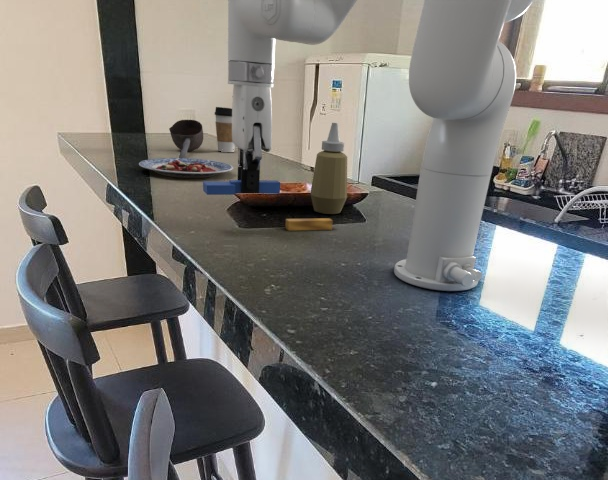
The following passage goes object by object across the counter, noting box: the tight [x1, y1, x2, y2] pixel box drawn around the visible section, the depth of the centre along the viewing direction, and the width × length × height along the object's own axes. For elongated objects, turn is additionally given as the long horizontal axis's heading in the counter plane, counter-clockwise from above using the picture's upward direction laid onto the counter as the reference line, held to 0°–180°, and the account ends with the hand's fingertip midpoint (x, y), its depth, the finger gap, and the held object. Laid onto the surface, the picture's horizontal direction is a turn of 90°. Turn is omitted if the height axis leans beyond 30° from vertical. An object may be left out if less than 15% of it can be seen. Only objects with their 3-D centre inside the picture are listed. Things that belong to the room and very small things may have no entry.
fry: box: [284, 217, 334, 232], centre depth 102 cm, size 9×2×2 cm, turn 110°
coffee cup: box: [214, 106, 236, 153], centre depth 194 cm, size 8×8×15 cm
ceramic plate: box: [138, 157, 234, 179], centre depth 149 cm, size 26×26×3 cm
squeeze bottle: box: [309, 122, 348, 215], centre depth 113 cm, size 8×8×18 cm
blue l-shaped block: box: [202, 179, 281, 196], centre depth 94 cm, size 14×4×2 cm, turn 110°
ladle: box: [168, 119, 204, 158], centre depth 180 cm, size 12×38×10 cm, turn 8°
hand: (248, 190), depth 95 cm, fingers closed on blue l-shaped block, 1 cm apart
